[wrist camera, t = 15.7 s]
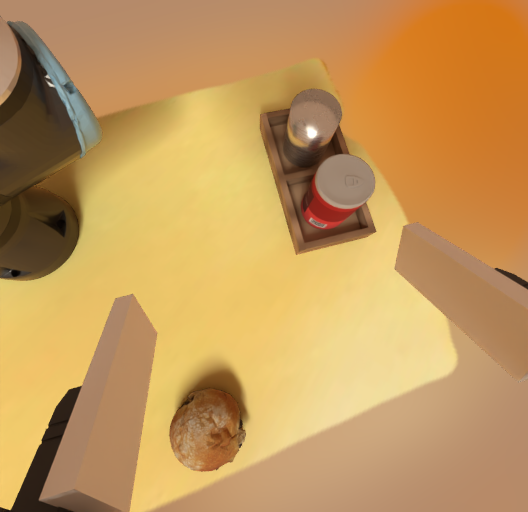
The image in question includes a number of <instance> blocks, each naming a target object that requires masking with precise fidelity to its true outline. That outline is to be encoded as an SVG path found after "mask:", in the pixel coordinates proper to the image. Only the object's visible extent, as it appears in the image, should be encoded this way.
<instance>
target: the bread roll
mask: <svg viewBox="0 0 528 512" xmlns="http://www.w3.org/2000/svg"><path fill="white" fill-rule="evenodd" d="M188 398H189V400H187V401H186V402H185V403H184V404H183V405H182V407H181V408H179V409H178V411H177V412H176V414H175V416H174V417H173V420H172V422H171V426H170V433H169V434H170V435H169V436H170V442H171V447H172V449H173V452H174V454H175V456H176V458H177V459H178V460H179V461H180V462H181V463H182V464H183V465H184V466H186V467H188V468H190V469H191V470H195V471H213V470H215V469H216V470H217V469H218V468H219V467H221V466H222V465H224V464H226V463H228V462H233V459H234V457H235V455H236V454H237V453H238V451H239V448H240V447H241V446H242V443H243V442H244V440H245V436H246V433H245V430H241V429H240V428H241V427H242V425H243V423H242V421H241V419H240V410H239V407H238V405H237V402H236V401H235V399H234V398H233V397H232V396H231V395H230V394H229V393H226V392H224V391H222V390H221V391H220V390H216V389H210V388H207V389H204V390H200V391H195V392H192V393H191V394H190V395H189V396H188Z"/></svg>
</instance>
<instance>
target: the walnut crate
mask: <svg viewBox="0 0 528 512" xmlns="http://www.w3.org/2000/svg"><path fill="white" fill-rule="evenodd" d="M289 113H290V109H285V110H280V111H275V112H269V113H264V114H260V131H261V134H262V138H263V141H264V145H265V148H266V151H267V155H268V158H269V162H270V165H271V169H272V172H273V176H274V179H275V183H276V186H277V190H278V193H279V197H280V200H281V204H282V207H283V211H284V214H285V218H286V221H287V225H288V228H289V232H290V235H291V238H292V242H293V245H294V249H295V252H296V255H297V254H301V253H305V252H309V251H313V250H317V249H321V248H325V247H329V246H333V245H337V244H341V243H345V242H349V241H353V240H357V239H361V238H365V237H368V236H370V235H371V234H373V233H375V232H376V229H375V227H374V224H373V221H372V218H371V215H370V212H369V209H368V207H367V204H366V202H365V203H364V204H363V205H362V206H361V207H360V208H358V209H357V210H356V211H355V212H354V213H353V214H351V215H350V216H349V217H348V218H347V219H346V220H344V221H343V222H342V223H341V224H340V225H338V226H337V227H335V228H332V229H317V228H315V227H313V226H311V225H309V224H308V223H307V222H306V221H305V219H304V217H303V215H302V212H301V202H302V199H303V197H304V195H305V193H306V191H307V189H308V187H309V185H310V183H311V181H312V179H313V177H314V175H315V173H316V171H317V170H318V168H319V166H320V165H321V164H322V163H323V162H324V161H325V160H326V159H327V158H329V157H331V156H333V155H337V154H349V152H348V149H347V146H346V143H345V140H344V138H343V135H342V132H341V129H340V126H339V125H338V127H337V129H336V131H335V133H334V135H333V137H332V139H331V141H330V143H329V145H328V147H327V149H326V151H325V153H324V155H323V157H322V159H321V160H320V161H319V162H318V163H317V164H316V165H314V166H311V167H298V166H296V165H294V164H292V163H291V162H289V161H288V160H287V158H286V157H285V155H284V152H283V142H284V137H285V132H286V128H287V123H288V118H289Z"/></svg>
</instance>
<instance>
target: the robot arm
mask: <svg viewBox="0 0 528 512" xmlns="http://www.w3.org/2000/svg"><path fill="white" fill-rule="evenodd" d="M101 140H102V129H101V126H100V124H99V122H98V120H97V118H96V117H95V115H94V113H93V112H92V110H91V108H90V107H89V105H88V104H87V102H86V100H85V99H84V98H83V96H82V95H81V93H80V92H79V90H78V89H77V88H76V87H75V86H74V84H73V82H72V81H71V79H70V78H69V76H68V75H67V73H66V71H65V70H64V69H63V67H62V66H61V64H60V63H59V62H58V60H57V59H56V58H55V56H54V55H53V54H52V52H51V51H50V50H49V48H48V47H47V46H46V44H45V43H44V42H43V41H42V39H41V38H40V37H39V36H38V35H37V33H36V32H35V31H34V30H33V29H32V28H31V27H30V26H29V25H28V24H26V23H24V22H20V21H18V22H10V21H8V22H7V23H6V22H5V21H4V20H3V19H2V17H1V16H0V278H1V279H7V280H17V281H27V280H34V279H38V278H41V277H44V276H46V275H48V274H50V273H52V272H53V271H55V270H56V269H58V268H59V267H60V266H61V265H62V264H63V263H64V262H65V261H66V260H67V259H68V257H69V256H70V255H71V253H72V251H73V250H74V247H75V245H76V242H77V238H78V230H79V229H78V221H77V217H76V215H75V213H74V211H73V209H72V208H71V206H70V205H69V204H68V203H67V202H66V201H65V200H63V199H62V198H60V197H59V196H57V195H55V194H53V193H51V192H49V191H47V190H45V189H42V188H39V187H34V185H36V184H38V183H39V182H41V181H43V180H44V179H46V178H48V177H49V176H51V175H53V174H54V173H56V172H58V171H59V170H61V169H62V168H64V167H66V166H67V165H69V164H71V163H72V162H74V161H76V160H77V159H79V158H82V157H84V156H85V154H86V152H88V151H89V150H90V149H92V148H93V147H94V146H96V145H97V144H98V143H100V141H101ZM395 270H396V271H397V272H398V273H399V274H401V275H402V276H403V277H404V278H405V279H406V280H407V281H408V282H409V283H410V284H411V285H413V286H414V287H415V288H416V289H417V290H418V291H419V292H420V293H421V294H422V295H423V296H425V297H426V298H427V299H428V300H429V301H430V302H431V303H432V304H433V305H434V306H435V307H437V308H438V309H439V310H440V311H441V312H442V313H443V314H444V315H445V316H446V317H447V318H449V319H450V320H451V321H452V322H453V323H454V324H455V325H456V326H457V327H458V328H459V329H461V330H462V331H463V332H464V333H465V334H466V335H467V336H468V337H469V338H470V339H471V340H473V341H474V342H475V343H476V344H477V345H478V346H479V347H480V348H481V349H482V350H483V351H485V352H486V353H487V354H488V355H489V356H490V357H491V358H492V359H493V360H494V361H496V362H497V363H498V364H499V365H500V366H501V367H502V368H503V369H505V371H506V372H507V373H509V374H510V375H511V376H512V377H513V378H514V379H515V380H516V381H517V382H521V381H524V380H527V379H528V282H526V281H525V280H522V279H521V278H519V277H517V276H516V275H514V274H512V273H509V272H506V271H504V270H501V269H498V268H495V269H493V268H491V267H490V266H488V265H486V264H485V263H483V262H482V261H480V260H478V259H477V258H475V257H473V256H472V255H470V254H469V253H467V252H465V251H464V250H462V249H460V248H459V247H457V246H455V245H454V244H452V243H451V242H449V241H447V240H446V239H444V238H442V237H441V236H439V235H437V234H436V233H434V232H432V231H431V230H429V229H427V228H426V227H424V226H422V225H421V224H419V223H418V222H417V223H413V224H409V225H405V226H403V230H402V235H401V240H400V245H399V249H398V254H397V259H396V264H395ZM156 338H157V332H156V330H155V329H154V327H153V325H152V324H151V322H150V321H149V319H148V317H147V316H146V314H145V312H144V311H143V309H142V308H141V306H140V304H139V303H138V301H137V300H136V298H135V296H134V295H133V294H131V295H127V296H123V297H120V298H116V299H115V301H114V303H113V306H112V309H111V311H110V314H109V316H108V319H107V322H106V324H105V327H104V330H103V332H102V335H101V338H100V340H99V343H98V345H97V348H96V351H95V353H94V356H93V359H92V361H91V364H90V366H89V369H88V372H87V374H86V377H85V380H84V382H83V385H82V386H80V387H76V388H73V389H69V391H68V392H67V393H66V394H65V396H64V397H63V398H62V400H61V401H60V402H59V404H58V405H57V406H56V408H55V411H54V413H53V415H52V418H51V420H50V422H49V424H48V426H49V427H48V429H46V431H45V434H44V436H43V438H42V440H41V441H42V444H41V445H39V447H38V450H37V452H36V454H35V457H34V459H33V461H32V463H31V466H30V468H29V470H28V473H27V475H26V477H25V479H24V482H23V484H22V486H21V489H20V491H19V493H18V495H17V498H16V500H15V502H14V505H13V507H12V509H11V510H7V509H4V508H1V507H0V512H129V511H130V504H131V498H132V491H133V485H134V479H135V472H136V466H137V460H138V453H139V447H140V440H141V434H142V428H143V421H144V415H145V408H146V402H147V396H148V389H149V383H150V376H151V370H152V364H153V357H154V351H155V344H156Z"/></svg>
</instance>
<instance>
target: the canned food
mask: <svg viewBox="0 0 528 512" xmlns="http://www.w3.org/2000/svg"><path fill="white" fill-rule="evenodd" d="M374 188H375V177H374V174H373V171H372V170H371V168H370V167H369V165H368V164H367V163H366V162H365V161H363V160H362V159H360V158H358V157H356V156H353V155H350V154H337V155H333V156H331V157H329V158H327V159H326V160H325V161H324V162H323V163H322V164H321V165H320V166H319V168H318V170H317V171H316V173H315V175H314V177H313V179H312V181H311V183H310V185H309V187H308V189H307V191H306V193H305V195H304V197H303V199H302V202H301V212H302V215H303V217H304V219H305V221H306V222H307V223H308V224H309V225H311V226H313V227H315V228H317V229H332V228H335V227H337V226H338V225H340V224H341V223H342V222H343V221H344V220H346V219H347V218H348V217H349V216H350V215H351V214H353V213H354V212H355V211H356V210H357V209H358V208H360V207H361V206H362V205H363V204H364V203H365V202H366V201H367V200H368V199H369V198H370V197H371V195H372V193H373V191H374Z"/></svg>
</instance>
